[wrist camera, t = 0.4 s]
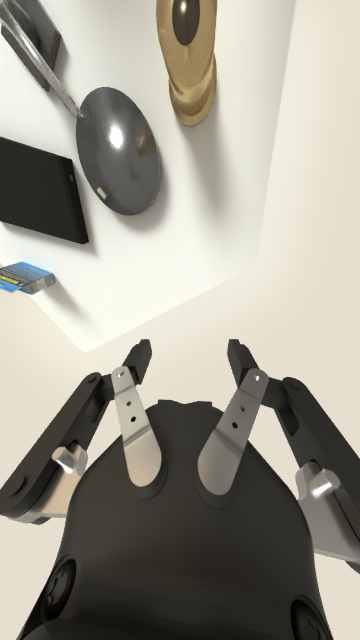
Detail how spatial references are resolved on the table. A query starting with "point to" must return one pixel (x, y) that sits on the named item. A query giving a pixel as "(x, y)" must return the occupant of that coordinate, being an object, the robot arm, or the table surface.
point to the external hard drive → (40, 192)
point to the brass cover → (189, 55)
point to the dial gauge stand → (35, 44)
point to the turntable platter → (118, 151)
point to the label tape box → (24, 278)
